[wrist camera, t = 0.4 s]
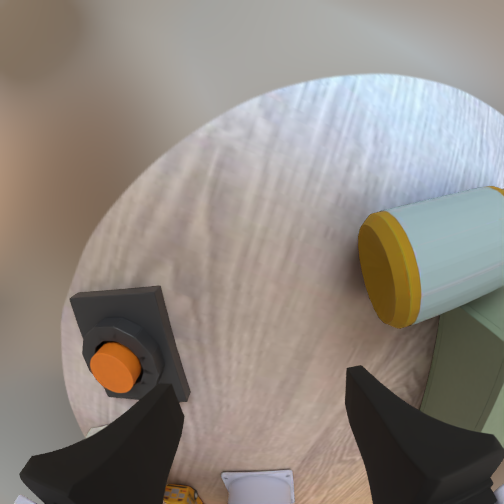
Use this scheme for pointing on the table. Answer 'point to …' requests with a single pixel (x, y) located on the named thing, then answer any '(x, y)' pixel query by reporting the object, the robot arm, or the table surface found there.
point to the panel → (132, 335)
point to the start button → (115, 367)
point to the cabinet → (469, 367)
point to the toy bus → (180, 495)
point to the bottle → (433, 254)
